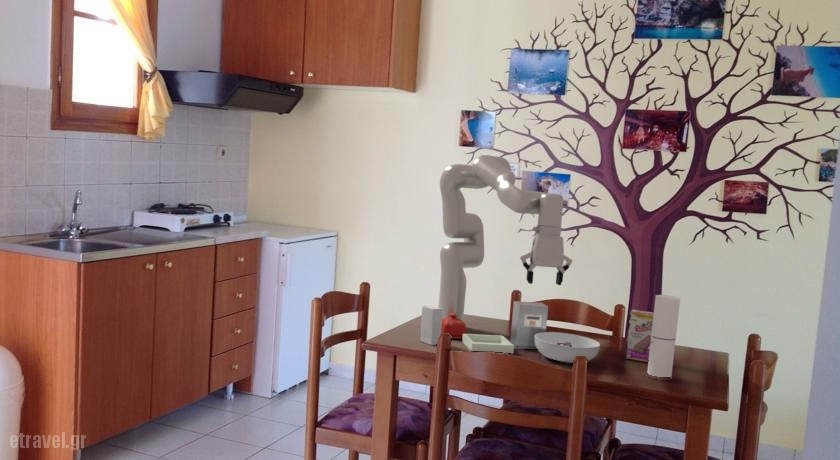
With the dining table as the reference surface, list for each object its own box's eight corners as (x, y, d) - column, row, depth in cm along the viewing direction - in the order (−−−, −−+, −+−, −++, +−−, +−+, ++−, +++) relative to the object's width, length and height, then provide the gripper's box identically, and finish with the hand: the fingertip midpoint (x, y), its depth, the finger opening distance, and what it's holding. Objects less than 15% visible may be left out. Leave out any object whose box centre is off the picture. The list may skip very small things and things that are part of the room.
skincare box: (440, 344, 254) (444, 308, 253) (430, 345, 251) (433, 309, 250) (429, 340, 258) (432, 305, 257) (418, 341, 255) (421, 305, 254)
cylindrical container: (657, 381, 229) (666, 299, 227) (641, 374, 236) (650, 294, 234) (676, 380, 232) (685, 299, 230) (660, 373, 239) (668, 295, 237)
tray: (462, 341, 260) (462, 333, 260) (501, 343, 263) (502, 335, 262) (471, 351, 247) (472, 343, 246) (513, 353, 249) (513, 345, 249)
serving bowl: (594, 372, 234) (597, 350, 233) (527, 361, 240) (529, 340, 239) (601, 358, 253) (603, 337, 253) (538, 348, 260) (540, 328, 259)
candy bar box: (624, 359, 254) (629, 311, 252) (625, 356, 258) (630, 308, 257) (659, 365, 250) (664, 316, 249) (659, 361, 255) (665, 313, 253)
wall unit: (506, 342, 264) (510, 300, 263) (539, 344, 266) (543, 302, 265) (513, 349, 256) (517, 305, 254) (547, 350, 258) (552, 307, 256)
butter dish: (472, 341, 263) (474, 317, 263) (440, 340, 260) (442, 316, 259) (461, 333, 274) (463, 310, 274) (430, 333, 271) (432, 309, 270)
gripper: (526, 230, 242) (522, 284, 243) (578, 234, 245) (573, 287, 246) (519, 228, 249) (515, 280, 250) (570, 232, 252) (565, 283, 253)
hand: (544, 283), depth 248 cm, fingers open, 9 cm apart
